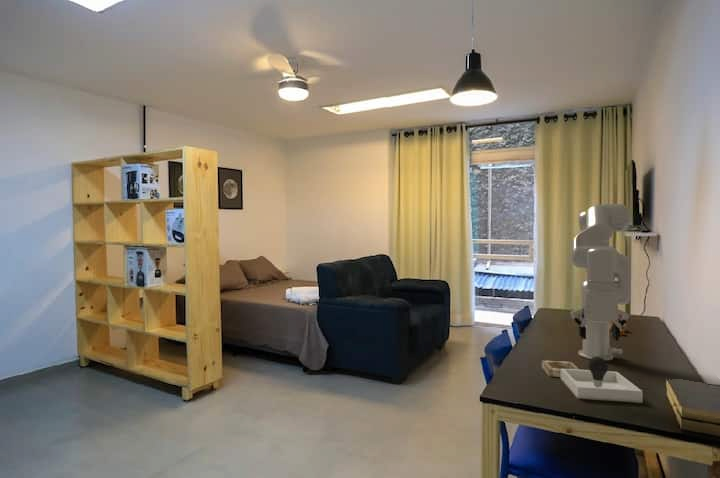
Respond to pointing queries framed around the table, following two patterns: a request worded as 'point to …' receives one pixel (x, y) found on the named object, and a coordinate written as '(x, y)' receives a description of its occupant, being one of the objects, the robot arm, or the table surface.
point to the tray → (611, 388)
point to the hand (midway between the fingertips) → (599, 338)
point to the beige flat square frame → (556, 367)
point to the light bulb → (598, 370)
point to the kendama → (622, 330)
